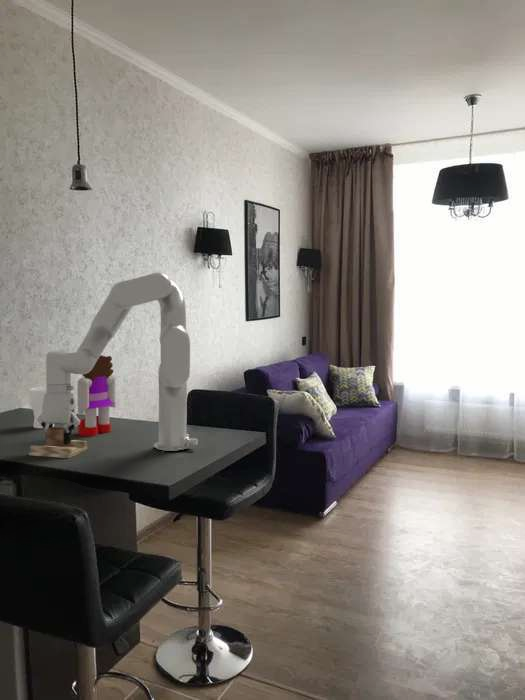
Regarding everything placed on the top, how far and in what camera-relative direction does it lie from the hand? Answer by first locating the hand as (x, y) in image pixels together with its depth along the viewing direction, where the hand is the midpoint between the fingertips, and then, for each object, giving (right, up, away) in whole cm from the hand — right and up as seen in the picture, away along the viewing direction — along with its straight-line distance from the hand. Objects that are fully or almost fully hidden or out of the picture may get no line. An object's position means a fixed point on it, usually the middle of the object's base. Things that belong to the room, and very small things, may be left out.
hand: (58, 442), depth 187 cm
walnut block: (0, -1, 0) cm, 1 cm away
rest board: (0, -3, 0) cm, 3 cm away
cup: (-19, 0, +37) cm, 42 cm away
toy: (+3, -1, +29) cm, 29 cm away
